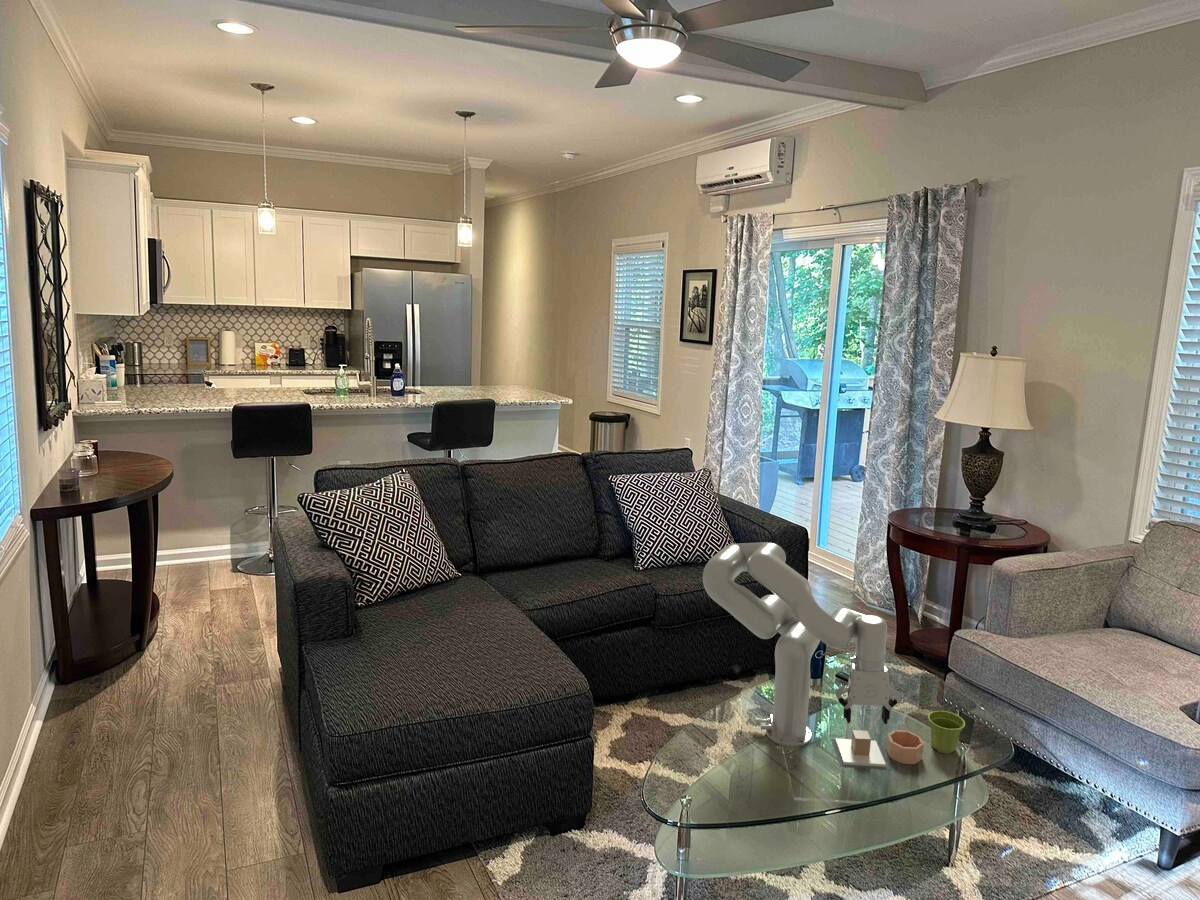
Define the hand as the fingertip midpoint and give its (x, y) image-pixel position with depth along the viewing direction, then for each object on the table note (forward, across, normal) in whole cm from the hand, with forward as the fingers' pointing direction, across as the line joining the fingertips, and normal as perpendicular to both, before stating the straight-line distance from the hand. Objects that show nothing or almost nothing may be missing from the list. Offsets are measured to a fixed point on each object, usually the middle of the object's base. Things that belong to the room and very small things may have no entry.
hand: (866, 720), depth 226 cm
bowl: (+11, +11, +2) cm, 16 cm away
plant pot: (+12, +23, +6) cm, 27 cm away
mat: (+11, -1, 0) cm, 11 cm away
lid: (+10, -1, 0) cm, 10 cm away
